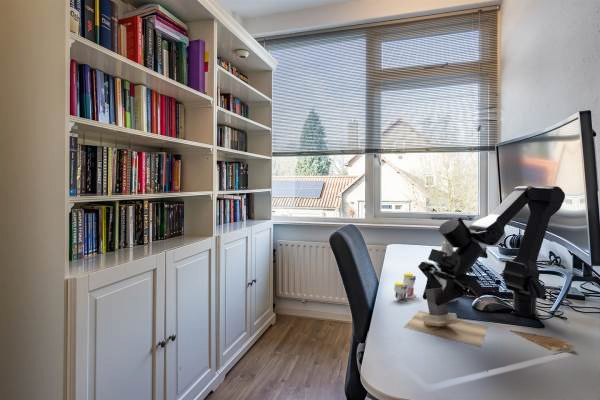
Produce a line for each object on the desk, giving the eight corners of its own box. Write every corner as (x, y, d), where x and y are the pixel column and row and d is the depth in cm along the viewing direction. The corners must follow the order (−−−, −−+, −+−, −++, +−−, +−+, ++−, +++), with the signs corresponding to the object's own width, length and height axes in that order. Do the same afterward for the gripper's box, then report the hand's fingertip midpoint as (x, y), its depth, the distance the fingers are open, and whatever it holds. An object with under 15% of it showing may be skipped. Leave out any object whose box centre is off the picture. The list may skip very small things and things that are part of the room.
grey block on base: (442, 321, 88) (435, 288, 91) (458, 323, 83) (450, 287, 85) (424, 324, 87) (417, 290, 89) (438, 326, 81) (431, 289, 83)
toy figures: (403, 304, 103) (403, 279, 103) (391, 301, 107) (391, 276, 106) (420, 295, 112) (420, 272, 111) (408, 292, 115) (408, 270, 115)
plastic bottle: (462, 303, 104) (463, 242, 103) (446, 306, 102) (447, 244, 101) (446, 297, 110) (447, 239, 109) (431, 299, 108) (432, 240, 107)
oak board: (419, 313, 96) (419, 310, 96) (488, 328, 85) (488, 326, 85) (403, 330, 85) (403, 327, 85) (480, 350, 74) (480, 347, 74)
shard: (509, 335, 83) (510, 328, 83) (532, 332, 85) (532, 325, 85) (552, 357, 72) (552, 349, 72) (577, 352, 74) (577, 345, 74)
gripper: (424, 234, 96) (391, 273, 93) (476, 244, 78) (438, 293, 75) (444, 259, 99) (413, 297, 96) (499, 274, 81) (463, 322, 78)
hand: (429, 301), depth 86 cm, fingers closed on grey block on base, 4 cm apart
